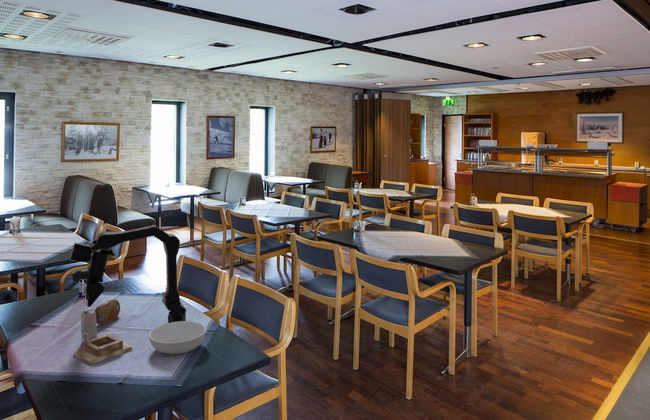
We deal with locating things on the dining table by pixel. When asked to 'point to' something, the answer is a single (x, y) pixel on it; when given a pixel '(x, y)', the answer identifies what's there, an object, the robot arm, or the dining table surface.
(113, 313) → the tin
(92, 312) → the energy drink
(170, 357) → the dining table surface
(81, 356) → the wooden tray
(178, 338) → the serving bowl
